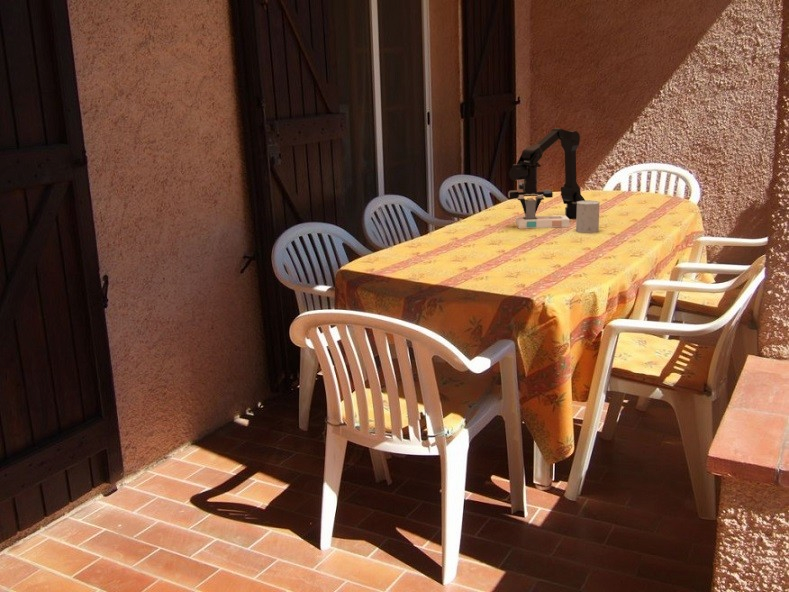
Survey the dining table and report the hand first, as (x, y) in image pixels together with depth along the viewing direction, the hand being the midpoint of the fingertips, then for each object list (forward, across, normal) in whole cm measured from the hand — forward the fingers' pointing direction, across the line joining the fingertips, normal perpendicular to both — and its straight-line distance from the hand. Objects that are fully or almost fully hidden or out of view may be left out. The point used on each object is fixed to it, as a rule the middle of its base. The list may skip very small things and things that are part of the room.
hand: (530, 213), depth 387 cm
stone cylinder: (+6, -22, +14) cm, 27 cm away
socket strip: (+6, -5, 0) cm, 8 cm away
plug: (+3, 0, 0) cm, 3 cm away
